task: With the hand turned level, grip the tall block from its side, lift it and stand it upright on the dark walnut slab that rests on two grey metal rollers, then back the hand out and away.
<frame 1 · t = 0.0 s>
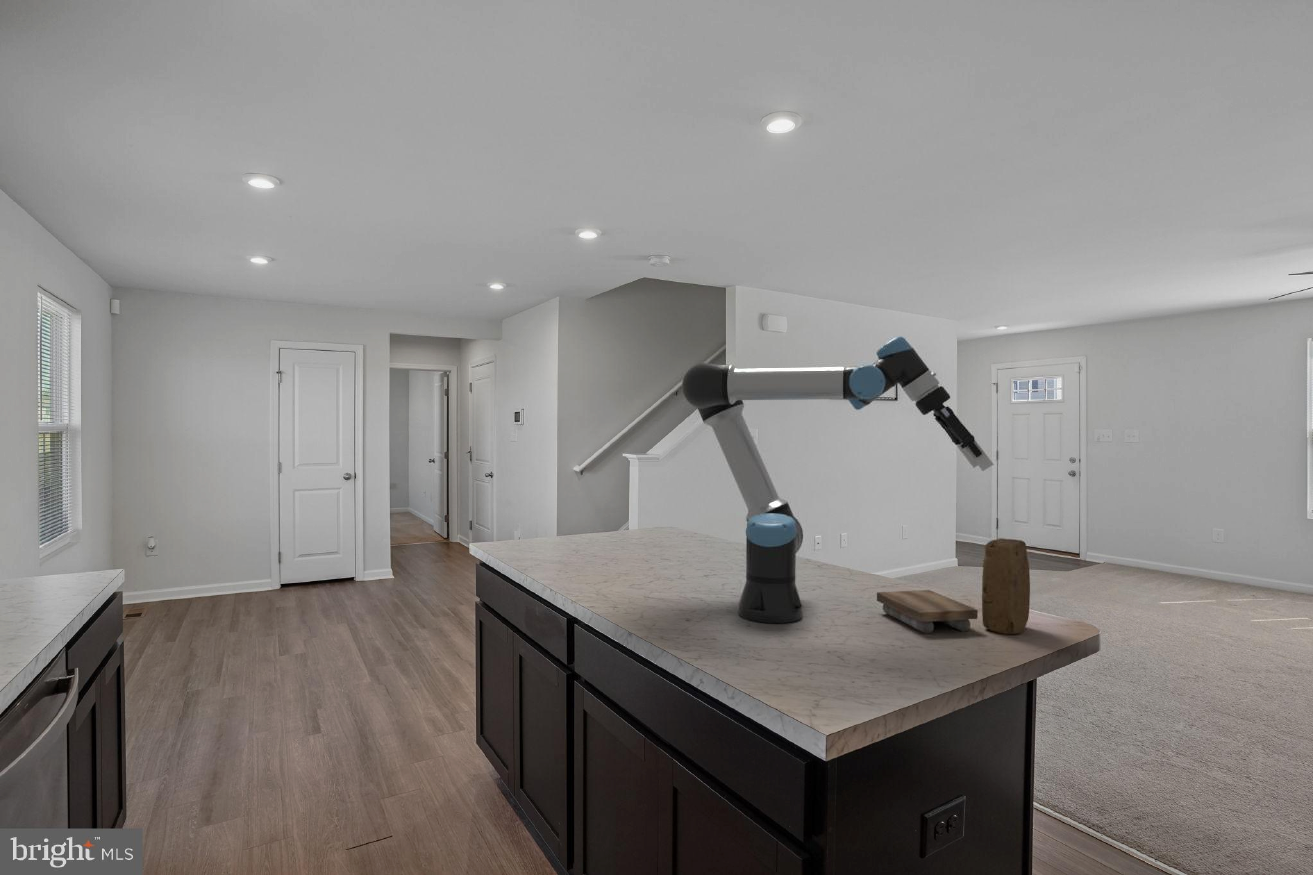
hand: (983, 466, 158), 36 cm above the worktop, tool tilted 35°, fingers open, 13 cm apart
block: (1006, 630, 150), on the worktop
slab: (924, 622, 155), on the worktop
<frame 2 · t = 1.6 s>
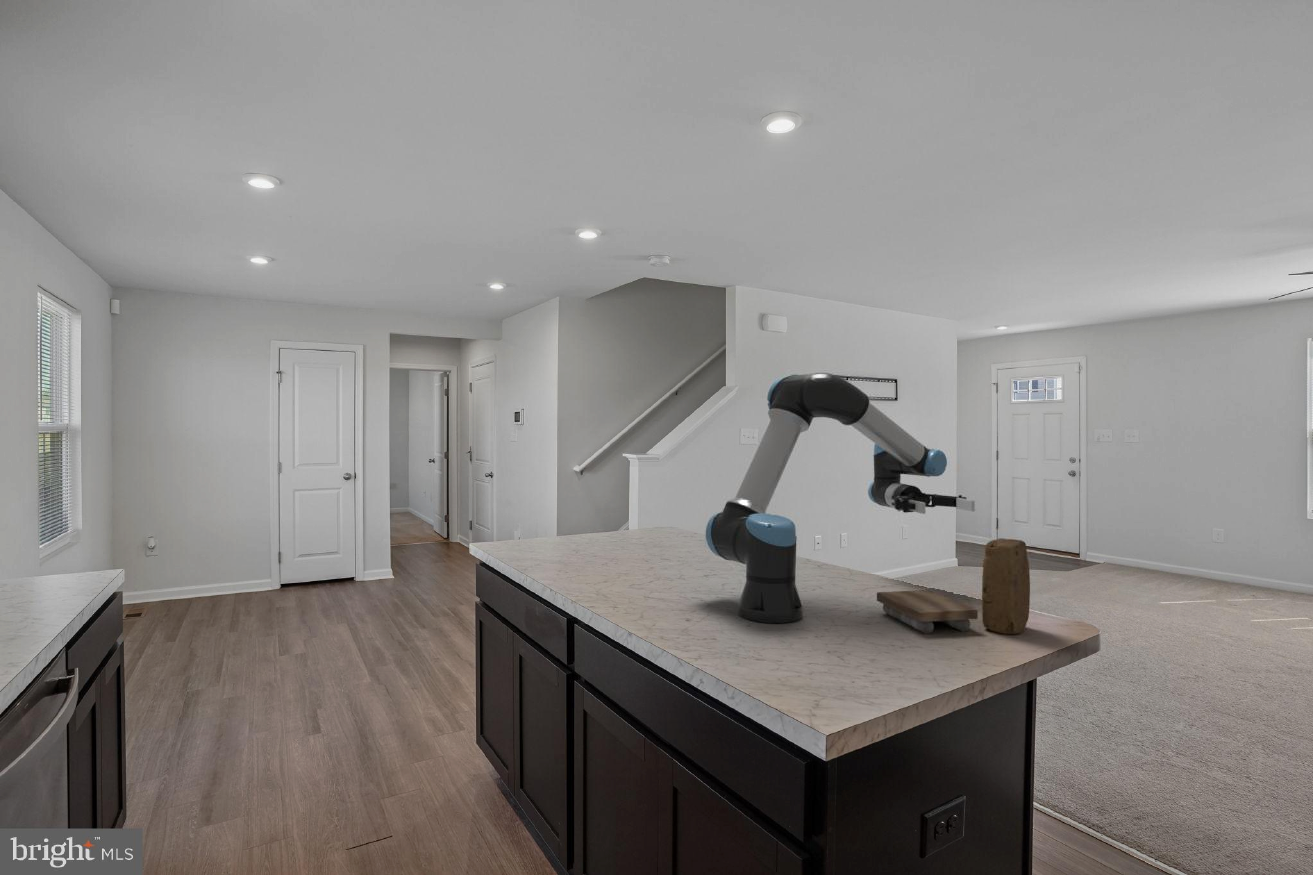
hand: (948, 507, 169), 25 cm above the worktop, tool horizontal, fingers open, 13 cm apart
nothing on the worktop moved.
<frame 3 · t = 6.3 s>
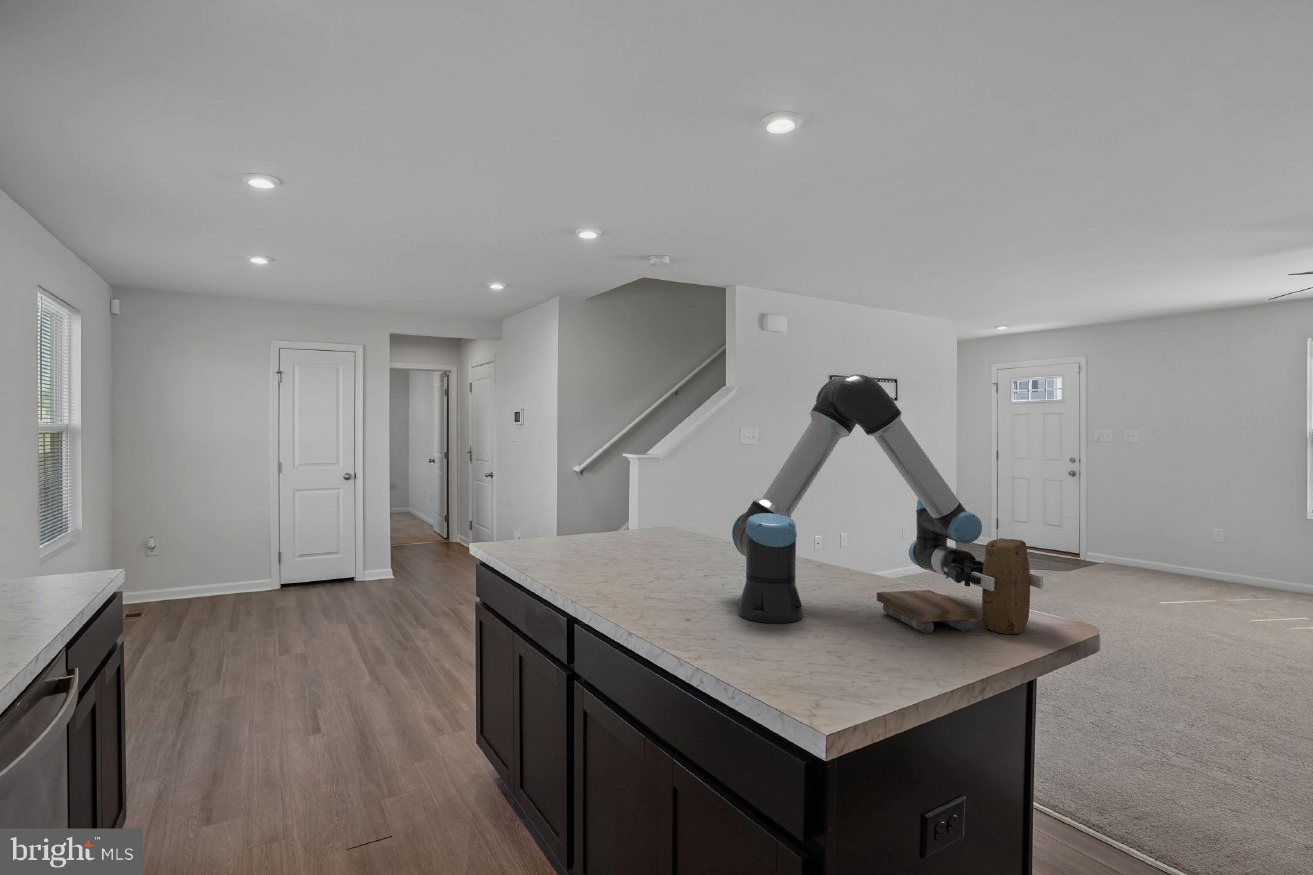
hand: (1017, 583, 146), 11 cm above the worktop, tool horizontal, fingers closed on block, 11 cm apart
block: (1006, 630, 150), on the worktop, touching gripper
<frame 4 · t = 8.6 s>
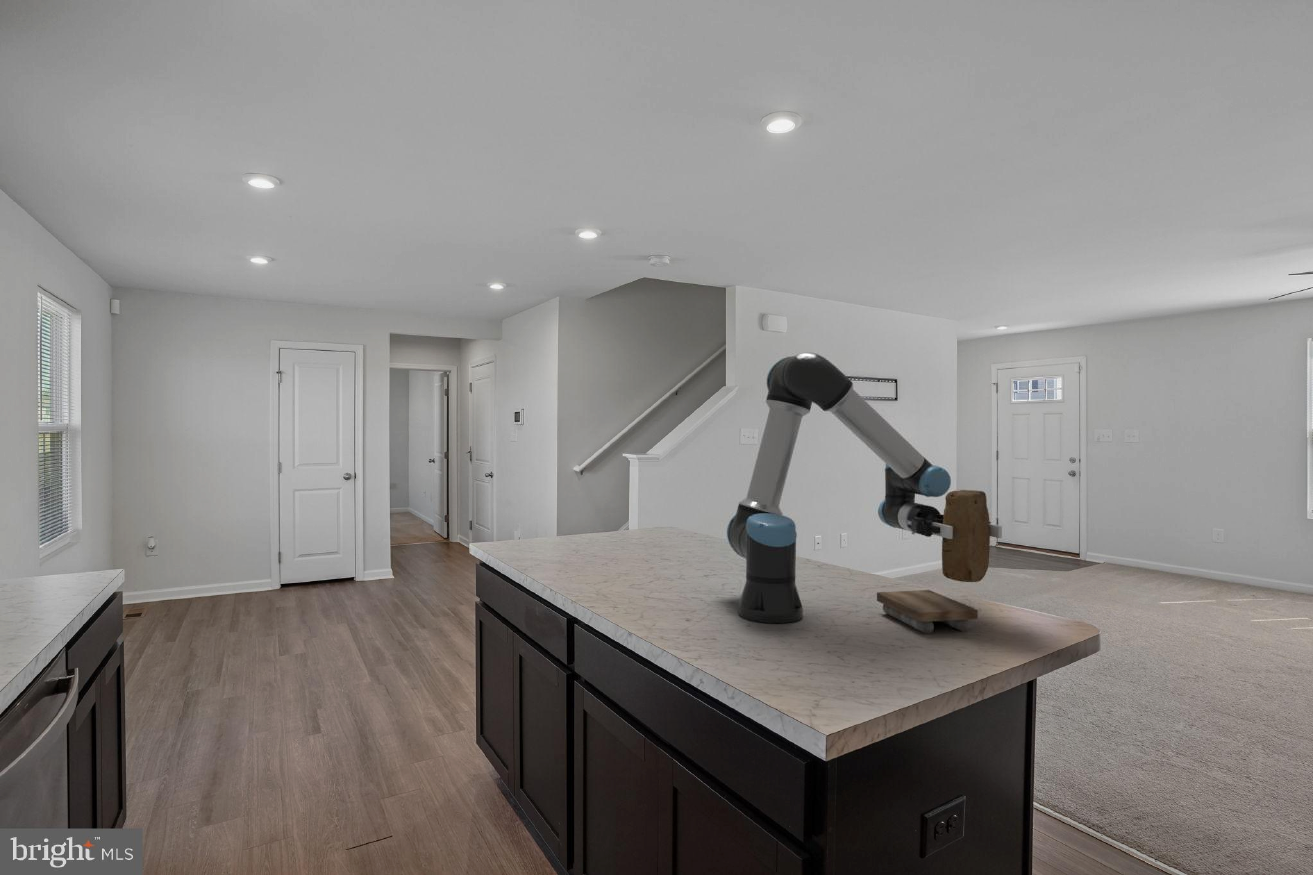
hand: (975, 532, 148), 22 cm above the worktop, tool horizontal, fingers closed on block, 11 cm apart
block: (965, 579, 152), point 11 cm above the worktop, touching gripper
when the fingers open (17 cm above the worktop, at t = 10.8 s): block drops 1 cm, resting on slab.
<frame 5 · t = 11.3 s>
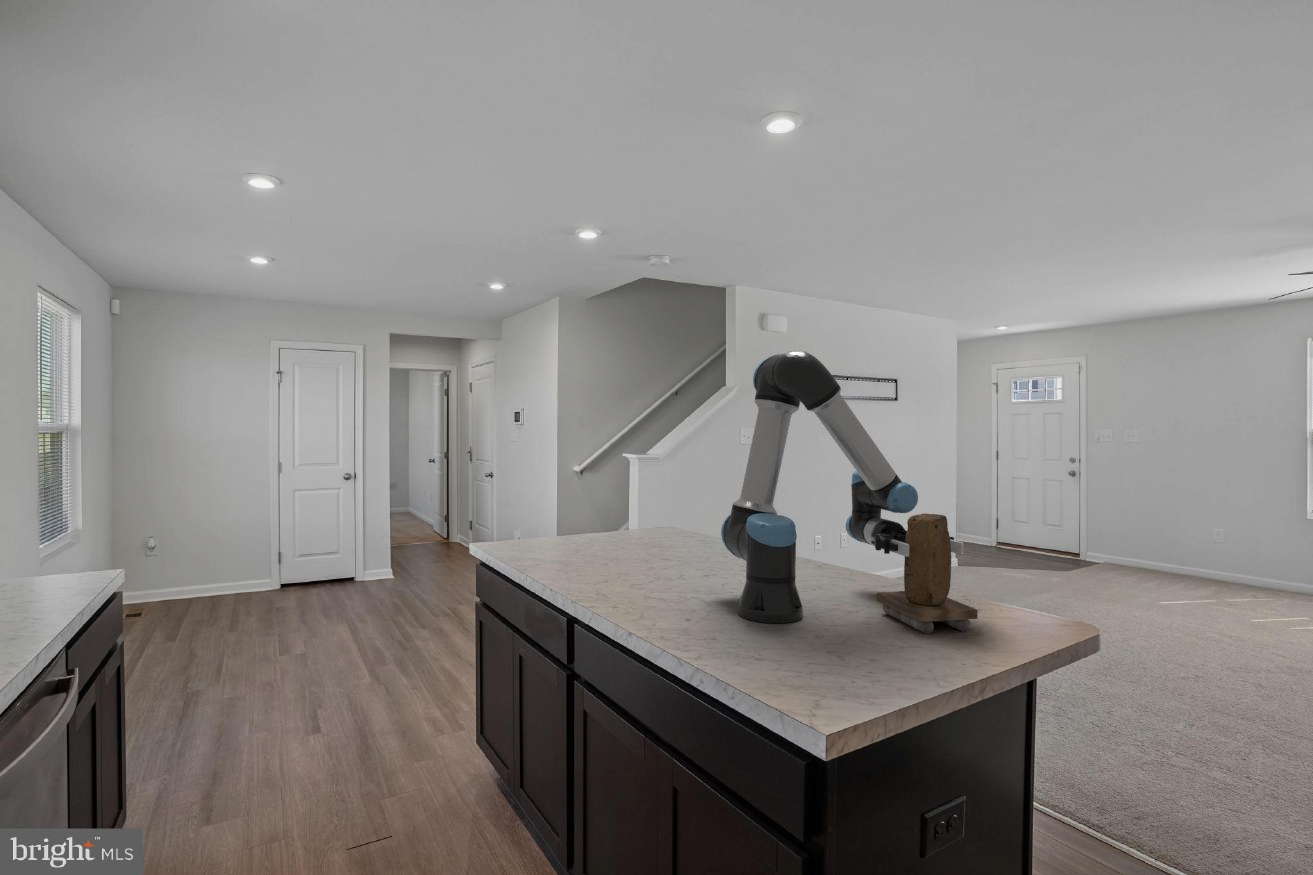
hand: (935, 549, 151), 17 cm above the worktop, tool horizontal, fingers open, 13 cm apart
block: (927, 602, 154), point 5 cm above the worktop, touching slab
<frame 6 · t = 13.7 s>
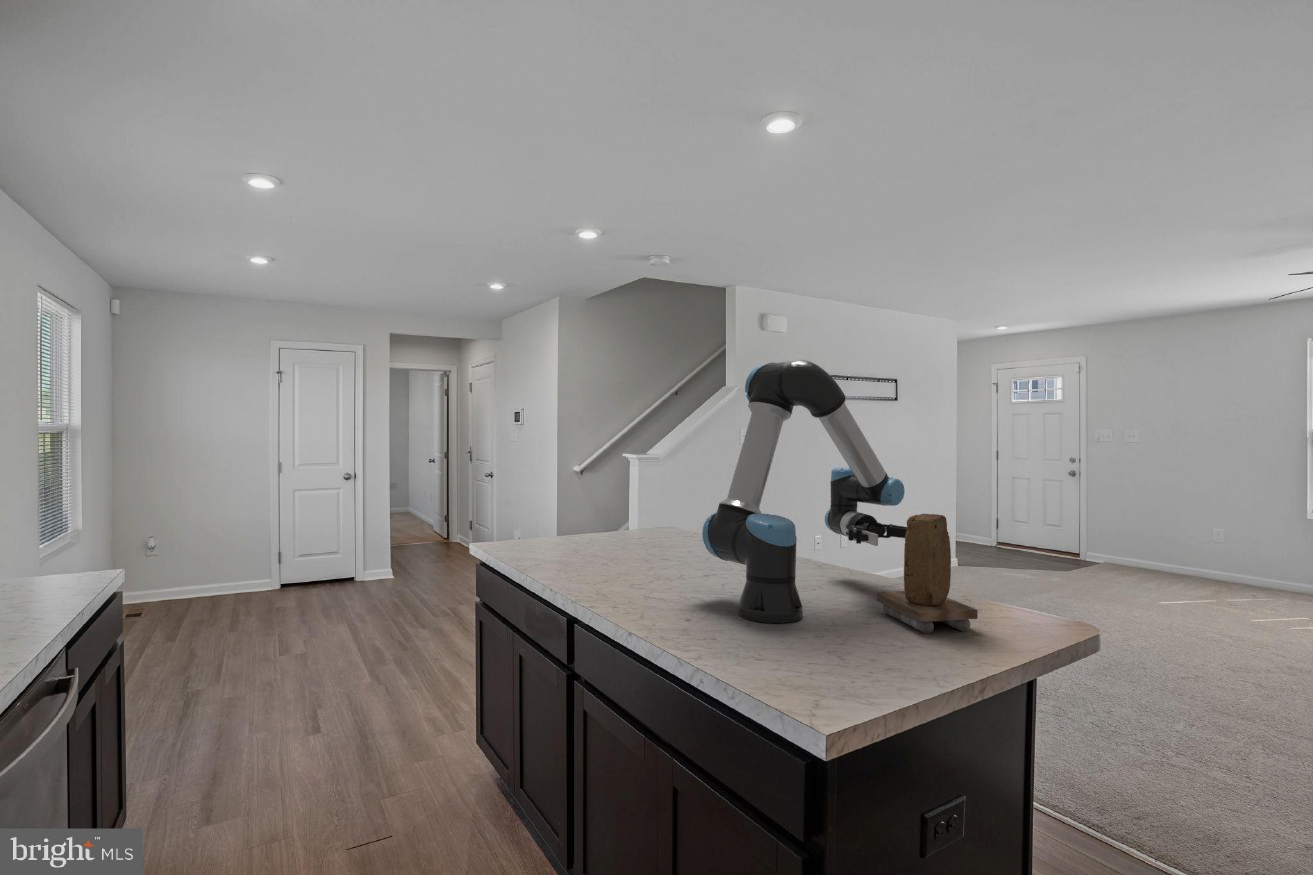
hand: (902, 539, 164), 18 cm above the worktop, tool horizontal, fingers open, 13 cm apart
nothing on the worktop moved.
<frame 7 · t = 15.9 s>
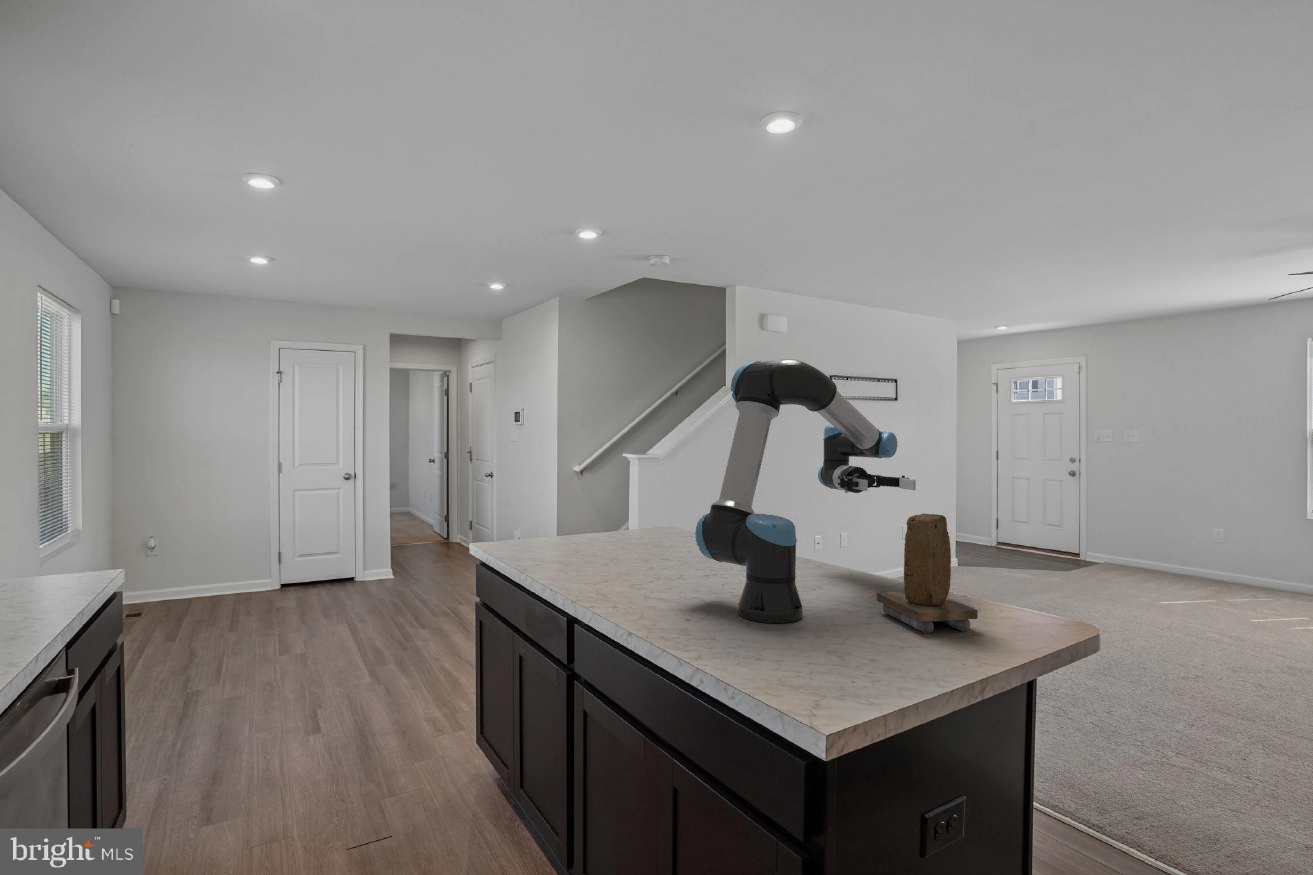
hand: (890, 485, 173), 30 cm above the worktop, tool horizontal, fingers open, 13 cm apart
nothing on the worktop moved.
at the end: block inside the target area on the slab (0.9 cm from its centre), point 4.8 cm above the slab's base; block tilted 0°; the gripper is holding nothing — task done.
